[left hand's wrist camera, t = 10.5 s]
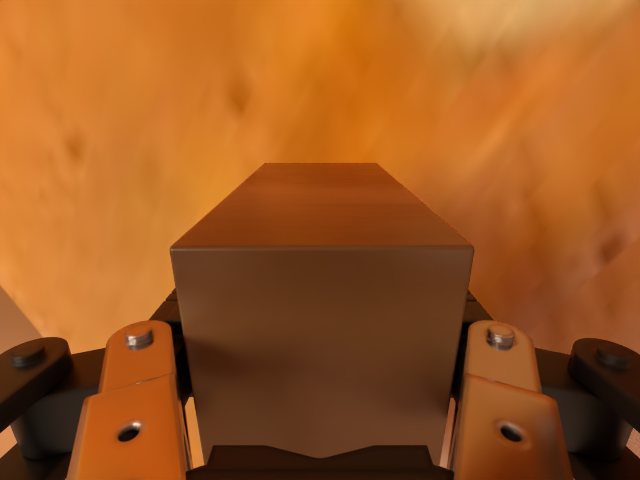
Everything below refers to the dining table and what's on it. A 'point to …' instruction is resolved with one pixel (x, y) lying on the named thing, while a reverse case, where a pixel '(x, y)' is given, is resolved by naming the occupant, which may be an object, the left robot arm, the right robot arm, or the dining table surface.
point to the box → (321, 312)
